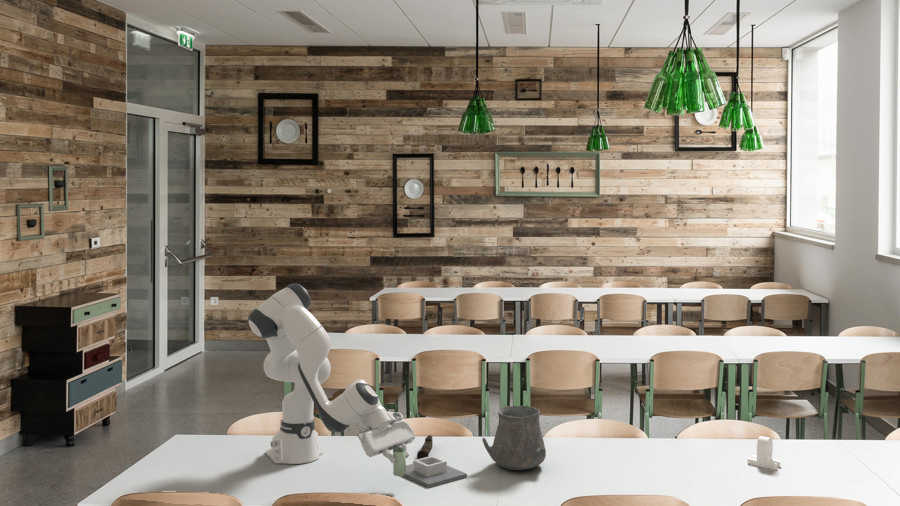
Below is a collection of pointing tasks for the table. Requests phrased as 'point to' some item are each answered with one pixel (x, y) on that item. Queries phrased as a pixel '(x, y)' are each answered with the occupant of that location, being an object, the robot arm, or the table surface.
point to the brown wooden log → (425, 448)
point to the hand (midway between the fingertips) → (400, 459)
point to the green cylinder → (399, 460)
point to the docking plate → (432, 472)
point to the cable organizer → (764, 454)
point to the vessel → (517, 439)
